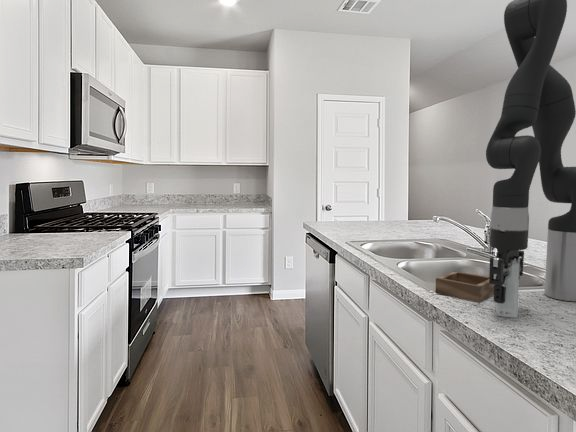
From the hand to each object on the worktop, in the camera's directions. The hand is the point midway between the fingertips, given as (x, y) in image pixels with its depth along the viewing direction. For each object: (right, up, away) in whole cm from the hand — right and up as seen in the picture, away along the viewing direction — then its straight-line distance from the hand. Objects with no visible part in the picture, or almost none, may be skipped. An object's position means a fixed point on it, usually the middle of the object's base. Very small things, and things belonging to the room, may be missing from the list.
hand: (505, 298), depth 91 cm
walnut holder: (-2, -2, +16) cm, 16 cm away
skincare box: (0, -4, 0) cm, 4 cm away
